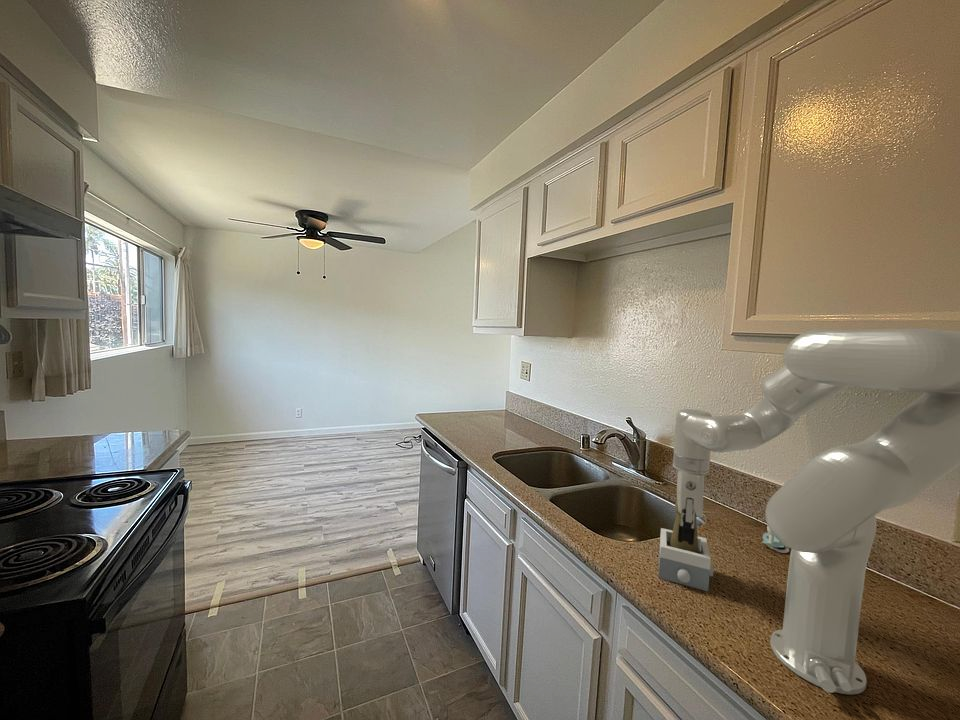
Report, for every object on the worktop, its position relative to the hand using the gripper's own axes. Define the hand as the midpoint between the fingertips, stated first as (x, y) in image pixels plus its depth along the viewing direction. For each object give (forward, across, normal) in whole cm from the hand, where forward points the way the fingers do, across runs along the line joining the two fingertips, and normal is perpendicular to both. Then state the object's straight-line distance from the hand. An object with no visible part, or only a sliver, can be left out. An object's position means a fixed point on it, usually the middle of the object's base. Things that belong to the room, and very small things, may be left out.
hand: (684, 537), depth 91 cm
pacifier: (+9, +26, -24) cm, 37 cm away
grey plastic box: (+9, 0, 0) cm, 9 cm away
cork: (+2, 0, 0) cm, 2 cm away
